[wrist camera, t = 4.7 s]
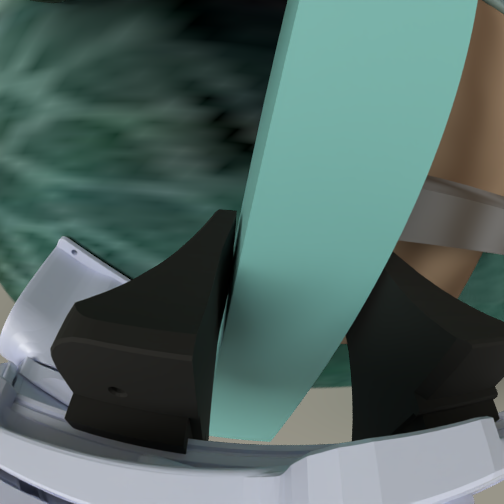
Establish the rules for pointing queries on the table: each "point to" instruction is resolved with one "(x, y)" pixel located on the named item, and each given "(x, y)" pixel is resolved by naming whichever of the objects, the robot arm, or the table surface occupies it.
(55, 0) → the coffee jar
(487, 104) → the balance board
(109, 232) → the table surface
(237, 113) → the table surface
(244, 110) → the table surface
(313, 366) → the batten
